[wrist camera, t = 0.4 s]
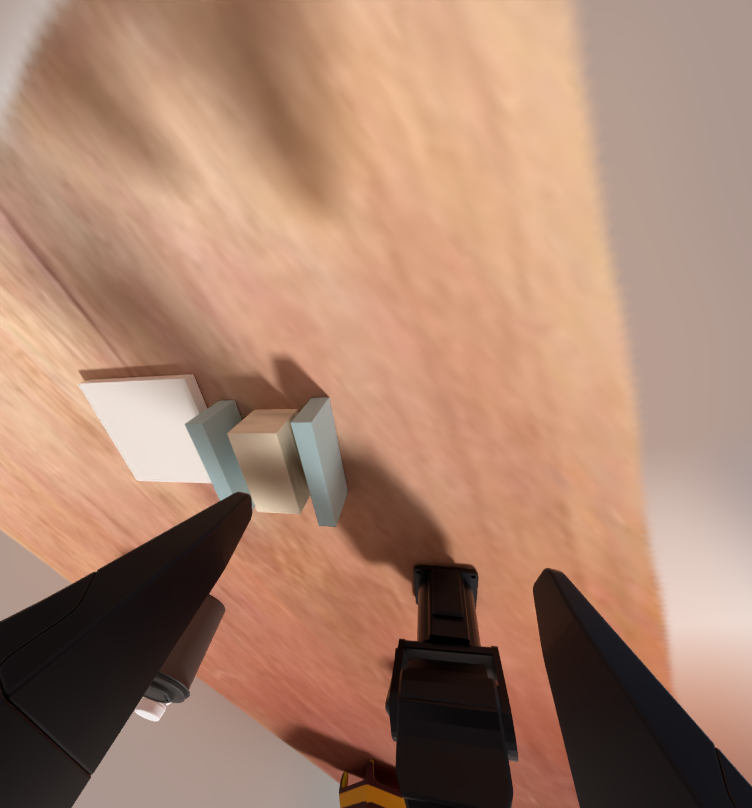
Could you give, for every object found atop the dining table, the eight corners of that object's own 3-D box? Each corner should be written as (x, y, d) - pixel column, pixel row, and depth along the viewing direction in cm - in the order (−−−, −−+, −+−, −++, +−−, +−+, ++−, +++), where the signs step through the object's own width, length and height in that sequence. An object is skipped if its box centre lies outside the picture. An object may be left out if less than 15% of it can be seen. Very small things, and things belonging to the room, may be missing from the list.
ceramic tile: (235, 476, 28) (229, 483, 28) (145, 474, 30) (137, 480, 30) (193, 374, 24) (184, 378, 23) (89, 379, 26) (77, 383, 25)
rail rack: (347, 492, 27) (336, 526, 23) (253, 488, 29) (229, 520, 25) (329, 397, 23) (311, 422, 19) (219, 400, 24) (184, 423, 21)
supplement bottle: (200, 659, 52) (162, 725, 44) (176, 651, 52) (134, 716, 44) (199, 647, 49) (159, 715, 42) (173, 639, 50) (129, 705, 42)
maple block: (316, 481, 27) (300, 514, 24) (278, 480, 28) (257, 511, 24) (298, 407, 24) (276, 433, 20) (255, 408, 24) (226, 433, 21)
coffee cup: (244, 616, 42) (196, 712, 33) (208, 622, 44) (154, 712, 36) (207, 583, 39) (143, 677, 30) (171, 591, 42) (103, 680, 33)
